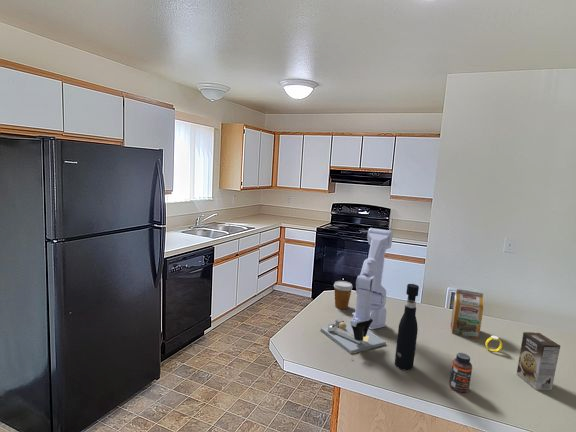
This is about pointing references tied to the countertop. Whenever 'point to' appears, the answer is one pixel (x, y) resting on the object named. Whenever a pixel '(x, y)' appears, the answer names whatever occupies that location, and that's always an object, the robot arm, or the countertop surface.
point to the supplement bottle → (460, 373)
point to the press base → (348, 344)
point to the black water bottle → (407, 332)
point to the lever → (344, 333)
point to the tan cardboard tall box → (467, 313)
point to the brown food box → (538, 360)
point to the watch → (493, 339)
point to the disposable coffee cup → (342, 294)
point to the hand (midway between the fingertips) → (360, 337)
